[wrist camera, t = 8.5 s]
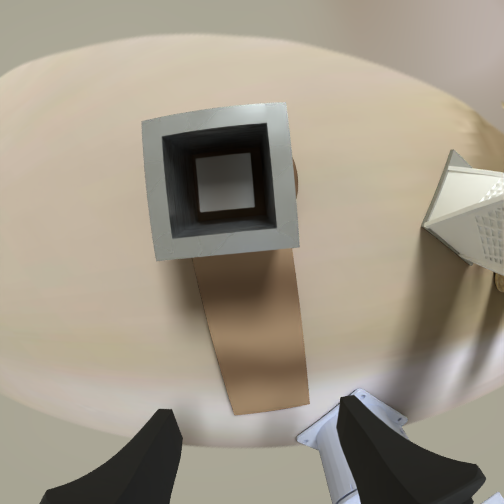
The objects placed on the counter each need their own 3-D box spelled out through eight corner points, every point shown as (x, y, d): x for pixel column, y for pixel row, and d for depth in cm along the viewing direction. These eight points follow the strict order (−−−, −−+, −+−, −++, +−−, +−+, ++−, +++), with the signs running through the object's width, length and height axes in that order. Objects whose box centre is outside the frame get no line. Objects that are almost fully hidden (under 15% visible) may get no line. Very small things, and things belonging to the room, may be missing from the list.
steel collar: (272, 132, 15) (286, 102, 9) (281, 227, 17) (299, 247, 11) (177, 143, 15) (141, 121, 10) (186, 236, 17) (156, 261, 11)
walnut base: (318, 389, 21) (330, 427, 17) (223, 404, 21) (219, 443, 17) (282, 114, 16) (292, 92, 12) (160, 138, 17) (135, 124, 12)
